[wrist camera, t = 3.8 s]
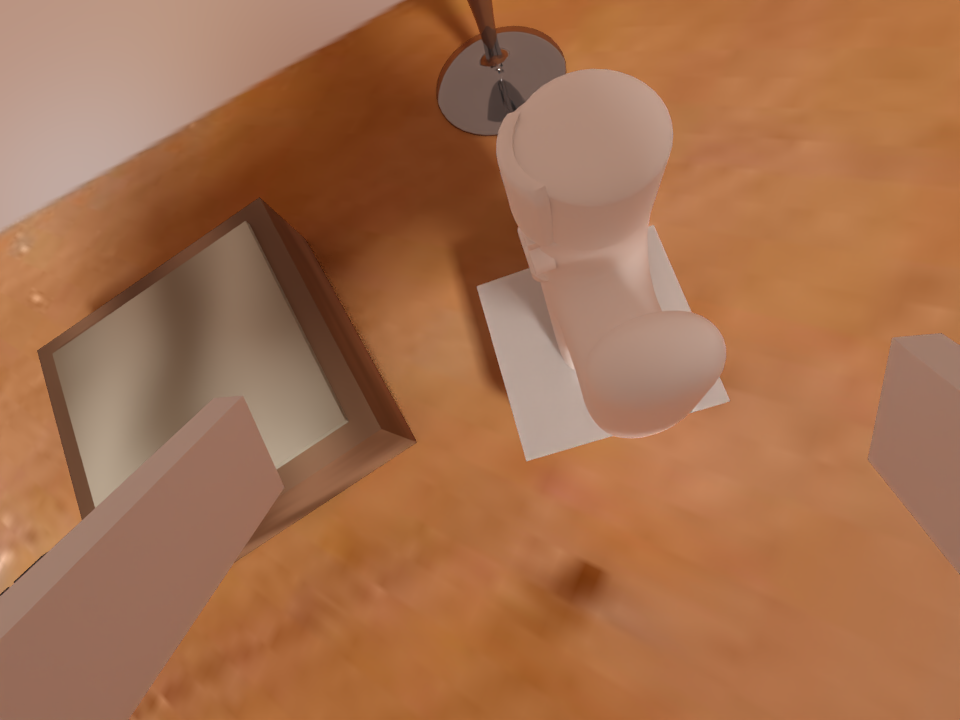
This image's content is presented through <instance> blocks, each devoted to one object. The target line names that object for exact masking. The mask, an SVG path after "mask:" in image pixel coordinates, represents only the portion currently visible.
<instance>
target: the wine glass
mask: <svg viewBox="0 0 960 720" xmlns="http://www.w3.org/2000/svg"><path fill="white" fill-rule="evenodd" d="M467 1H468V3H469V6H470V8H471V10H472V13H473V15H474V18H475V20H476V23H477V26H478V29H479V32H480V34H479V35H477V36H475V37H473V38H471V39H470V40H468V41H467V42H465V43H464V44H462V45H461V46H460V47H459V48H458V49H457V50H456V51H455V52H454V53H453V54H452V55H451V56H450V58H449V59H448V60H447V62H446V63H445V65H444V67H443V68H442V71H441V73H440V76H439V79H438V84H437V100H438V105H439V108H440V110H441V112H442V114H443V115H444V116H445V118H446V119H447V120H448V121H449V122H450V123H451V124H452V125H454V126H455V127H456V128H458V129H460V130H462V131H464V132H467V133H470V134H474V135H481V136H497V135H498V131H499V128H500V126H501V124H502V122H503V119H504V118H505V117H506V115H507V114H509V113H512V112H514V111H515V110H516V109H517V108H518V107H520V106H521V105H522V104H524V103H525V102H526V101H527V100H528V99H529V98H530V96H531V95H532V94H533V93H534V92H536V91H537V90H538V89H539V88H540V87H542V86H543V85H544V84H546V83H548V82H550V81H551V80H553V79H555V78H557V77H560V76H562V75H565V74H566V62H565V59H564V56H563V53H562V51H561V49H560V48H559V46H558V45H557V44H556V43H555V42H554V41H553V40H552V39H551V38H550V37H549V36H547V35H546V34H544V33H543V32H540V31H538V30H535V29H532V28H528V27H522V26H507V27H500V28H495V22H494V15H493V5H492V0H467Z"/></svg>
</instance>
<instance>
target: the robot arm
mask: <svg viewBox="0 0 960 720" xmlns="http://www.w3.org/2000/svg"><path fill="white" fill-rule="evenodd" d="M868 461H869V462H870V463H871V464H872V466H873V467H874V468H875V469H876V471H877V472H878V473H879V474H880V476H881V477H882V478H883V479H884V481H885V482H886V483H887V484H888V486H889V487H890V488H891V489H892V491H893V492H894V493H895V494H896V496H897V497H898V498H899V499H900V501H901V502H902V503H903V504H904V506H905V507H906V508H907V509H908V511H909V512H910V513H911V514H912V516H913V517H914V518H915V519H916V521H917V522H918V523H919V524H920V526H921V527H922V528H923V529H924V531H925V532H926V533H927V534H928V536H929V537H930V538H931V539H932V541H933V542H934V543H935V544H936V546H937V547H938V548H939V549H940V551H941V552H942V553H943V554H944V556H945V557H946V558H947V559H948V561H949V562H950V563H951V564H952V566H953V567H954V568H955V569H956V571H957V572H958V573H959V574H960V345H958V344H957V343H955V342H954V341H952V340H951V339H949V338H948V337H946V336H945V335H943V334H942V333H939V334H928V335H916V336H905V337H894V338H892V341H891V346H890V351H889V356H888V361H887V366H886V371H885V376H884V381H883V386H882V391H881V396H880V401H879V406H878V411H877V416H876V421H875V426H874V431H873V436H872V441H871V446H870V451H869V456H868ZM283 489H284V485H283V483H282V481H281V479H280V477H279V474H278V472H277V470H276V468H275V465H274V463H273V461H272V459H271V457H270V454H269V452H268V450H267V448H266V445H265V443H264V441H263V439H262V437H261V434H260V432H259V430H258V428H257V425H256V423H255V421H254V419H253V417H252V414H251V412H250V410H249V408H248V405H247V403H246V401H245V399H244V397H243V395H242V396H231V397H220V398H213V399H212V400H211V401H210V402H209V403H208V404H207V405H206V406H205V407H204V408H203V409H202V410H200V411H199V412H198V413H197V414H196V415H195V416H194V417H193V418H192V419H191V420H190V421H189V422H188V423H186V424H185V425H184V426H183V427H182V428H181V429H180V430H179V431H178V432H177V433H176V434H175V435H174V436H172V437H171V438H170V439H169V440H168V441H167V442H166V443H165V444H164V445H163V446H162V447H161V448H160V449H158V450H157V451H156V452H155V453H154V454H153V455H152V456H151V457H150V458H149V459H148V460H147V461H145V462H144V463H143V464H142V465H141V466H140V467H139V468H138V469H137V470H136V471H135V472H134V473H133V474H131V475H130V476H129V477H128V478H127V479H126V480H125V481H124V482H123V483H122V484H121V485H120V486H119V487H117V488H116V489H115V490H114V491H113V492H112V493H111V494H110V495H109V496H108V497H107V498H106V499H105V500H103V501H102V502H101V503H100V504H99V505H98V506H97V507H96V508H95V509H94V510H93V511H92V512H91V513H89V514H88V515H87V516H86V517H85V518H84V519H83V520H82V521H81V522H80V523H79V524H78V525H77V526H75V527H74V528H73V529H72V530H71V531H70V532H69V533H68V534H67V535H66V536H65V537H64V538H63V539H61V540H60V541H59V542H58V543H57V544H56V545H55V546H54V547H53V548H52V549H51V550H50V551H48V552H47V553H46V554H44V555H43V556H41V557H40V558H39V559H38V560H37V561H36V562H35V563H34V564H33V565H32V566H30V567H29V568H28V569H27V570H26V571H25V572H24V573H23V574H22V575H21V576H20V577H19V578H18V579H16V580H15V581H14V584H13V585H12V586H11V587H8V588H7V589H6V590H5V591H3V592H2V593H1V594H0V720H129V718H130V717H131V715H132V714H133V712H134V711H135V709H136V708H137V706H138V705H139V703H140V702H141V700H142V699H143V697H144V696H145V694H146V693H147V691H148V690H149V688H150V687H151V685H152V684H153V682H154V681H155V679H156V678H157V676H158V675H159V673H160V672H161V670H162V669H163V667H164V666H165V664H166V663H167V662H168V660H169V659H170V657H171V656H172V654H173V653H174V651H175V650H176V648H177V647H178V645H179V644H180V642H181V641H182V639H183V638H184V636H185V635H186V633H187V632H188V630H189V629H190V627H191V626H192V624H193V623H194V621H195V620H196V618H197V617H198V615H199V614H200V612H201V611H202V609H203V608H204V606H205V605H206V603H207V602H208V600H209V599H210V598H211V596H212V595H213V593H214V592H215V590H216V589H217V587H218V586H219V584H220V583H221V581H222V580H223V578H224V577H225V575H226V574H227V572H228V571H229V569H230V568H231V566H232V565H233V563H234V562H235V560H236V559H237V557H238V556H239V554H240V553H241V551H242V550H243V548H244V547H245V545H246V544H247V542H248V541H249V539H250V538H251V536H252V535H253V533H254V532H255V531H256V529H257V528H258V526H259V525H260V523H261V522H262V520H263V519H264V517H265V516H266V514H267V513H268V511H269V510H270V508H271V507H272V505H273V504H274V502H275V501H276V499H277V498H278V496H279V495H280V493H281V492H282V490H283Z"/></svg>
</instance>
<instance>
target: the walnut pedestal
mask: <svg viewBox="0 0 960 720" xmlns="http://www.w3.org/2000/svg"><path fill="white" fill-rule="evenodd" d="M37 352H38V355H39V359H40V363H41V367H42V371H43V374H44V378H45V382H46V386H47V389H48V393H49V397H50V401H51V405H52V408H53V412H54V416H55V420H56V423H57V427H58V431H59V435H60V439H61V442H62V446H63V450H64V454H65V457H66V461H67V465H68V469H69V472H70V476H71V480H72V484H73V488H74V491H75V495H76V499H77V503H78V506H79V510H80V514H81V518H82V520H83V519H84V518H85V517H86V516H87V515H88V514H89V513H91V512H92V511H93V510H94V509H95V508H96V507H97V506H98V505H99V504H100V503H101V502H102V501H103V500H105V499H106V498H107V497H108V496H109V495H110V494H111V493H112V492H113V491H114V490H115V489H116V488H117V487H119V486H120V485H121V484H122V483H123V482H124V481H125V480H126V479H127V478H128V477H129V476H130V475H131V474H133V473H134V472H135V471H136V470H137V469H138V468H139V467H140V466H141V465H142V464H143V463H144V462H145V461H147V460H148V459H149V458H150V457H151V456H152V455H153V454H154V453H155V452H156V451H157V450H158V449H160V448H161V447H162V446H163V445H164V444H165V443H166V442H167V441H168V440H169V439H170V438H171V437H172V436H174V435H175V434H176V433H177V432H178V431H179V430H180V429H181V428H182V427H183V426H184V425H185V424H186V423H188V422H189V421H190V420H191V419H192V418H193V417H194V416H195V415H196V414H197V413H198V412H199V411H200V410H202V409H203V408H204V407H205V406H206V405H207V404H208V403H209V402H210V401H211V400H212V399H213V398H220V397H231V396H242V395H243V397H244V399H245V401H246V403H247V405H248V408H249V410H250V412H251V414H252V417H253V419H254V421H255V423H256V425H257V428H258V430H259V432H260V434H261V437H262V439H263V441H264V443H265V445H266V448H267V450H268V452H269V454H270V457H271V459H272V461H273V463H274V465H275V468H276V470H277V472H278V474H279V477H280V479H281V481H282V483H283V485H284V489H283V490H282V492H281V493H280V495H279V496H278V498H277V499H276V501H275V502H274V504H273V505H272V507H271V508H270V510H269V511H268V513H267V514H266V516H265V517H264V519H263V520H262V522H261V523H260V525H259V526H258V528H257V529H256V531H255V532H254V533H253V535H252V536H251V538H250V539H249V541H248V542H247V544H246V545H245V547H244V548H243V550H242V551H241V553H240V554H239V556H238V557H237V559H236V560H235V562H236V561H237V560H239V559H240V558H242V557H243V556H245V555H246V554H248V553H249V552H251V551H252V550H254V549H255V548H257V547H258V546H260V545H262V544H263V543H265V542H266V541H268V540H269V539H271V538H272V537H274V536H275V535H277V534H278V533H280V532H281V531H283V530H284V529H286V528H287V527H289V526H290V525H292V524H293V523H295V522H296V521H298V520H299V519H301V518H303V517H304V516H306V515H307V514H309V513H310V512H312V511H313V510H315V509H316V508H318V507H319V506H321V505H322V504H324V503H325V502H327V501H328V500H330V499H331V498H333V497H334V496H336V495H337V494H339V493H341V492H342V491H344V490H345V489H347V488H348V487H350V486H351V485H353V484H354V483H356V482H357V481H359V480H360V479H362V478H363V477H365V476H366V475H368V474H369V473H371V472H372V471H374V470H375V469H377V468H378V467H380V466H382V465H383V464H385V463H386V462H388V461H389V460H391V459H392V458H394V457H395V456H397V455H398V454H400V453H401V452H403V451H404V450H406V449H407V448H409V447H410V446H412V445H413V444H415V443H416V440H415V438H414V436H413V434H412V433H411V431H410V429H409V427H408V425H407V423H406V422H405V420H404V418H403V416H402V414H401V413H400V411H399V409H398V407H397V405H396V403H395V402H394V400H393V398H392V396H391V394H390V392H389V391H388V389H387V387H386V385H385V383H384V382H383V380H382V378H381V376H380V374H379V372H378V371H377V369H376V367H375V365H374V363H373V362H372V360H371V358H370V356H369V354H368V352H367V351H366V349H365V347H364V345H363V343H362V341H361V340H360V338H359V336H358V334H357V332H356V331H355V329H354V327H353V325H352V323H351V321H350V320H349V318H348V316H347V314H346V312H345V311H344V309H343V307H342V305H341V303H340V301H339V300H338V298H337V296H336V294H335V292H334V290H333V289H332V287H331V285H330V283H329V281H328V280H327V278H326V276H325V274H324V272H323V270H322V269H321V267H320V265H319V263H318V261H317V259H316V258H315V256H314V254H313V252H312V250H311V249H310V247H309V245H308V243H307V241H306V239H305V238H303V237H302V236H301V235H300V234H299V233H298V232H297V231H296V230H295V229H294V228H293V227H291V226H290V225H289V224H288V223H287V222H286V221H285V220H284V219H283V218H282V217H280V216H279V215H278V214H277V213H276V212H275V211H274V210H273V209H272V208H271V207H269V206H268V205H267V204H266V203H265V202H264V201H263V200H262V199H261V198H260V197H259V198H258V199H256V200H255V201H254V202H252V203H251V204H249V205H248V206H246V207H245V208H243V209H242V210H241V211H239V212H238V213H236V214H235V215H233V216H232V217H230V218H229V219H227V220H226V221H225V222H223V223H222V224H220V225H219V226H217V227H216V228H214V229H213V230H212V231H210V232H209V233H207V234H206V235H204V236H203V237H201V238H200V239H198V240H197V241H196V242H194V243H193V244H191V245H190V246H188V247H187V248H185V249H184V250H183V251H181V252H180V253H178V254H177V255H175V256H174V257H172V258H171V259H169V260H168V261H167V262H165V263H164V264H162V265H161V266H159V267H158V268H156V269H155V270H154V271H152V272H151V273H149V274H148V275H146V276H145V277H143V278H142V279H140V280H139V281H138V282H136V283H135V284H133V285H132V286H130V287H129V288H127V289H126V290H125V291H123V292H122V293H120V294H119V295H117V296H116V297H114V298H113V299H111V300H110V301H109V302H107V303H106V304H104V305H103V306H101V307H100V308H98V309H97V310H96V311H94V312H93V313H91V314H90V315H88V316H87V317H85V318H84V319H82V320H81V321H80V322H78V323H77V324H75V325H74V326H72V327H71V328H69V329H68V330H67V331H65V332H64V333H62V334H61V335H59V336H58V337H56V338H55V339H53V340H52V341H51V342H49V343H48V344H46V345H45V346H43V347H42V348H40V349H39V350H37Z"/></svg>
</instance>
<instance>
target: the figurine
mask: <svg viewBox="0 0 960 720" xmlns="http://www.w3.org/2000/svg"><path fill="white" fill-rule="evenodd" d="M672 142H673V128H672V121H671V118H670V115H669V112H668V109H667V108H666V106H665V104H664V102H663V101H662V99H661V98H660V97H659V96H658V95H657V93H656V92H655V91H654V90H653V89H652V88H650V87H649V86H648V85H646V84H645V83H644V82H642V81H640V80H638V79H637V78H635V77H633V76H630V75H627V74H625V73H622V72H618V71H613V70H607V69H587V70H579V71H575V72H571V73H567V74H565V75H562V76H560V77H557V78H555V79H553V80H551V81H550V82H548V83H546V84H544V85H543V86H542V87H540V88H539V89H538V90H537V91H536V92H534V93H533V94H532V95H531V96H530V98H529V99H528V100H527V101H526V102H525V103H524V104H522V105H521V106H520V107H518V108H517V109H516V110H515V111H514V112H512V113H509V114H507V115H506V117H505V118H504V119H503V122H502V124H501V126H500V128H499V131H498V136H497V141H496V156H497V161H498V166H499V169H500V171H501V172H500V174H501V177H502V181H503V184H504V187H505V190H506V194H507V198H508V201H509V205H510V209H511V212H512V215H513V217H514V219H515V222H516V223H517V225H518V230H517V231H518V235H519V238H520V241H521V244H522V247H523V250H524V253H525V256H526V259H527V262H528V265H529V268H528V269H525V270H522V271H519V272H516V273H513V274H510V275H508V276H505V277H502V278H499V279H496V280H493V281H490V282H487V283H484V284H482V285H479V286H476V287H477V290H478V294H479V297H480V301H481V304H482V308H483V311H484V315H485V318H486V322H487V325H488V329H489V332H490V335H491V339H492V342H493V346H494V349H495V353H496V356H497V360H498V363H499V367H500V370H501V374H502V377H503V381H504V384H505V388H506V391H507V395H508V398H509V402H510V405H511V409H512V412H513V416H514V419H515V423H516V426H517V430H518V433H519V437H520V440H521V444H522V447H523V451H524V454H525V458H526V461H529V460H532V459H536V458H539V457H543V456H546V455H549V454H553V453H556V452H560V451H563V450H566V449H570V448H573V447H577V446H580V445H583V444H587V443H590V442H594V441H597V440H600V439H604V438H607V437H611V436H616V437H621V438H640V437H646V436H650V435H654V434H657V433H659V432H662V431H664V430H666V429H668V428H670V427H672V426H674V425H675V424H677V423H678V422H680V421H681V420H683V419H684V418H685V417H686V416H687V415H688V414H689V413H692V412H695V411H699V410H702V409H706V408H709V407H712V406H716V405H719V404H723V403H726V402H729V401H730V400H729V397H728V395H727V393H726V390H725V388H724V386H723V384H722V381H721V379H720V377H719V376H720V374H721V373H722V371H723V369H724V365H725V361H726V345H725V342H724V338H723V336H722V335H721V333H720V332H719V330H718V328H717V327H716V326H715V325H714V324H713V323H712V322H711V321H709V320H708V319H706V318H704V317H703V316H701V315H698V314H695V313H692V312H691V310H690V308H689V305H688V303H687V301H686V298H685V296H684V294H683V291H682V289H681V287H680V285H679V282H678V280H677V278H676V275H675V273H674V271H673V268H672V266H671V264H670V262H669V259H668V257H667V255H666V252H665V250H664V248H663V245H662V243H661V241H660V239H659V236H658V234H657V232H656V229H655V227H654V225H652V226H649V227H648V225H649V219H650V213H651V210H652V207H653V204H654V201H655V198H656V195H657V192H658V189H659V186H660V183H661V180H662V176H663V173H664V170H665V167H666V164H667V161H668V158H669V155H670V152H671V149H672Z"/></svg>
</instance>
